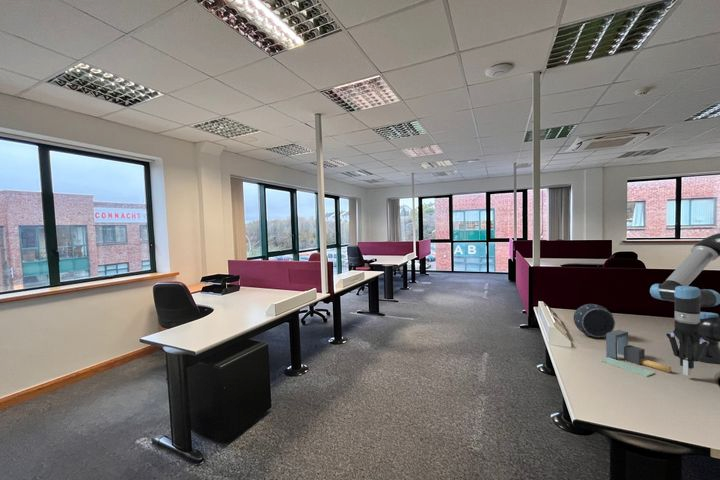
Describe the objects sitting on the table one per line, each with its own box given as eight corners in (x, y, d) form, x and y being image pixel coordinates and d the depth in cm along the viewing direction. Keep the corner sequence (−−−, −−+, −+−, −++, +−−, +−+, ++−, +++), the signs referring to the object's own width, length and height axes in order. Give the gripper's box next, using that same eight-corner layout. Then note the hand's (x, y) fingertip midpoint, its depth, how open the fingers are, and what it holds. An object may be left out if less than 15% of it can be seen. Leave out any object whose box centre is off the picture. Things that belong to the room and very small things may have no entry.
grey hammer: (629, 358, 149) (629, 344, 149) (672, 371, 134) (672, 356, 134) (624, 360, 147) (623, 346, 147) (667, 373, 132) (667, 358, 132)
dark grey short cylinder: (617, 340, 174) (617, 307, 173) (580, 338, 178) (580, 306, 177) (606, 334, 184) (606, 303, 184) (571, 332, 188) (571, 302, 188)
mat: (608, 358, 149) (608, 357, 149) (654, 373, 133) (654, 372, 133) (600, 361, 147) (600, 359, 147) (646, 376, 130) (646, 375, 130)
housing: (618, 352, 156) (618, 329, 156) (628, 355, 152) (628, 332, 152) (606, 356, 151) (606, 333, 151) (615, 359, 148) (615, 335, 147)
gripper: (662, 318, 132) (662, 369, 133) (705, 327, 120) (704, 383, 121) (670, 316, 135) (670, 366, 136) (713, 324, 123) (712, 379, 124)
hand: (686, 374), depth 128 cm, fingers closed
